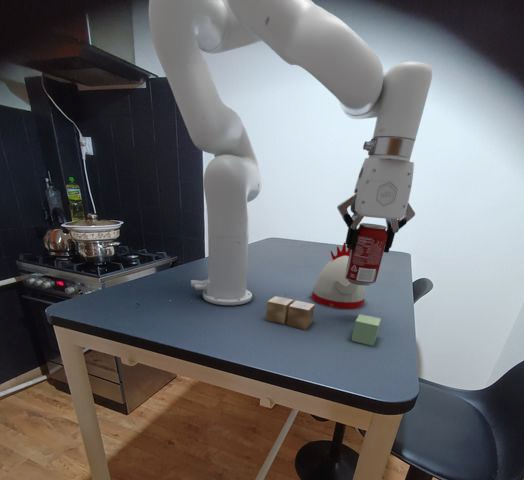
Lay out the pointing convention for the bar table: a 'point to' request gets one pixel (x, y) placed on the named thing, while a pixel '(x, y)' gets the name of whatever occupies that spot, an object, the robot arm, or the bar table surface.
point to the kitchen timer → (338, 284)
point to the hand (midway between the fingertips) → (367, 249)
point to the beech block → (300, 314)
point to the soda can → (366, 254)
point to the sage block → (366, 329)
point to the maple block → (278, 309)
